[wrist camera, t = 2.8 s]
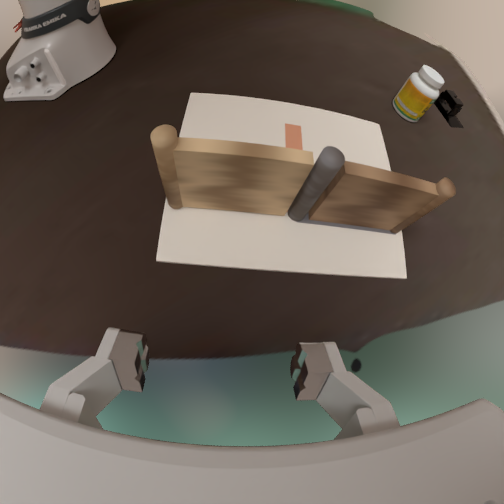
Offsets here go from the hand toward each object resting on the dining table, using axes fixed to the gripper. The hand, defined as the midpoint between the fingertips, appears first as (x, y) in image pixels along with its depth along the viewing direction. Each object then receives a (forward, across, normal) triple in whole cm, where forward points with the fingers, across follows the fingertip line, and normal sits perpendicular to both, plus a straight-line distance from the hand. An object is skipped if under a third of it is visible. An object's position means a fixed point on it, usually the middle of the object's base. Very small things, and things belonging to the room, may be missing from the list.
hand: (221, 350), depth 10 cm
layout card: (+23, -7, -2) cm, 24 cm away
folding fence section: (+19, 0, +1) cm, 19 cm away
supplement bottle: (+35, -27, -14) cm, 46 cm away
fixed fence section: (+19, -13, +1) cm, 23 cm away
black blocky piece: (+40, -40, -18) cm, 59 cm away
